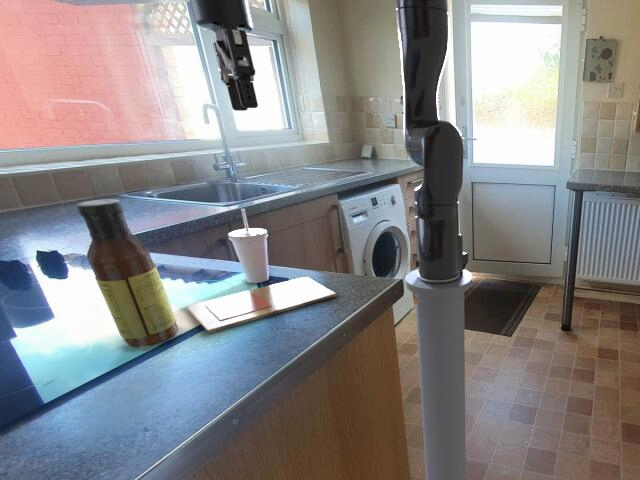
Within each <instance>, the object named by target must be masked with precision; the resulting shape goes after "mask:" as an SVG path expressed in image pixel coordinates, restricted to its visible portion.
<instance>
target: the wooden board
mask: <svg viewBox="0 0 640 480" xmlns="http://www.w3.org/2000/svg"><path fill="white" fill-rule="evenodd" d="M335 297H338V296H337V292H335V291H333V290H331V289H329V288H328V287H326V286H324V285H323V284H321V283H319V282H318V281H316V280H314V279H312V278H311V277H309V276H303V277H299V278H294V279H290V280H287V281H281V282H278V283H273V284H269V285H266V286H261V287H256V288H254V289H249V290H244V291H241V292H238V293H233V294H229V295H225V296H219V297H217V298H212V299H208V300H204V301H201V302H200V301H199V302H196V303H192V304H187V305H185V307H186V310H187V311H188V312H189V313H190V314H191V316H193V317H194V319H195V320H196V321H197V322H198V323H199V325H201V327H202V329H204V330H205V331H206V333H208V334H212V333H215V332H219V331H223V330H227V329H230V328H233V327H237V326H240V325H243V324H246V323H251V322H253V321H257V320H260V319H264V318H267V317H270V316H274V315H277V314H281V313H284V312H288V311H291V310H294V309H298V308H301V307H304V306H308V305H311V304H315V303H319V302H323V301H325V300H329V299H332V298H335Z"/></svg>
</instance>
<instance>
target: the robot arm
mask: <svg viewBox="0 0 640 480" xmlns="http://www.w3.org/2000/svg"><path fill="white" fill-rule="evenodd" d="M189 4H190V7H191V11H192V15H193V18H194V22H195V24H196V25H197V26H198V27H199V28H201V29H203V30H206V31H213V32H214V33H215V38H216V40H215V42H212V43H213V44H212V47H213V51H214V54H215V57H216V61H217V66H218V70H219V74H220V81H222V83H223V84H224V85H225V87H226V88H227V93H228V97H229V100H230V105H231V108H232V110H234V111H236V112H237V111H240V112H241V111H244V112H245V111H247V110H248V109H256V108H257V107H259V104H258V99H257V95H256V90H255V86H254V80H255V76H256V69H255V66H254V62H253V58H252V53H251V49H250V45H249V41H248V34H247V33H250V32H252V31H253V29H254V24H253V21H252V20H253V19H252V15H251V10H250V6H249V2H248V0H189ZM395 10H396V11H395V13H396V23H397V34H398V41H399V49H400V61H401V63H400V64H401V75H402V84H403V85H402V86H403V140H404V147H405V151H406V153H407V155H408V157H409V159H410V160H411V161H412V162H413V163H414V164H416V165H418V166H421V167H423V172H422V173H423V174H422V175H423V176H422V177H423V178H422V182H421V184H419V185H417V186H415V188H414V191H413V196H414V197H413V200H414V216H415V232H416V235H415V236H416V251H417V253H416V254H417V260H416V261H415V262H414V263H415V269H418V278H419V280H421V281H422V282H425V283H429V284H446V283H451V282H454V281H456V280H458V279H459V278H460V276H463V270H464V269H465V268H466V266H467V264H468V263H469V253H468V252H465V251H464V242H463V241H464V240H463V239H464V237H463V236H462V235H463V234H460V208H459V207H460V206H459V205H460V202H459V199H460V194H461V193H460V192H461V191H462V188H463V180H464V179H463V177H464V142H463V137H462V133H461V131H460V129H458V127H457V126H456V125H455V124H453V122H450V121H448V120H441V119H440V116H439V105H438V104H439V103H438V101H439V99H438V97H439V96H438V94H439V87H440V82H441V79H442V75H443V71H444V68H445V65H446V61H447V57H448V53H449V49H450V23H449V22H450V21H449V20H450V19H449V4H448V0H395Z"/></svg>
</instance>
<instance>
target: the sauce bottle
mask: <svg viewBox="0 0 640 480" xmlns="http://www.w3.org/2000/svg"><path fill="white" fill-rule="evenodd" d="M76 208H77V211H78V214H79V215H80V217H82V218H83V220H84V222H85V224H86V228H87V229H88V233H89V237H90V239H91V242H90V245H89V247H88V249H87V253H86V254H87V255H86V258H87V261H88V262H89V265H90V268H91V269H92V271H93V272H92V273H94V276H95V281H96V283H97V285H98V287H99V289H100V292H101V295H102V296H103V298H104V300H105V303H106V306H107V307H108V310H109V313H110V314H111V317H112V319H113V322H114V324H115V326H116V328H117V331H118V333H119V335H120V338H122V339H123V341H124V343H125V344H127V345H128V346H129V347H134V348H141V347H147V346H148V347H149V346H151V347H152V346H155V345H158V344H161V343H164V342H167V341H169V340H171V339H172V338H173V337H175V336H176V335H177V333H179V331H178V330H179V326H178V324H177V319H176V316H175V314H174V310H173V308H172V304H171V303H170V300H169V298H168V294H167V292H166V290H165V287H164V284H163V282H162V281H163V280H162V279H161V276H160V274H159V271H158V268H157V266H156V263H155V262H154V261H153V259H152V256H151V253H150V250H149V248H148V247H147V246H146V245H145V244H143V243H142V242H141V241H140V240H139V239H138V238H137V237H136V236H135V235H134V234H133V233H132V232H131V228H129V227H128V223H127V221H126V218H125V215H124V208H123V205H122V203H121V201H120V200H119V199H114V198H113V199H112V198H111V199H95V200H86V201H82V202H79V203H77V204H76Z"/></svg>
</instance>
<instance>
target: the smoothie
mask: <svg viewBox="0 0 640 480" xmlns="http://www.w3.org/2000/svg"><path fill="white" fill-rule="evenodd" d="M240 210H241V215H242V216H241V217H242V220H243V225H244V228H241V229H235V230H233V231H230V232H229V233H228V234H227V235H228V240H229V241H231V243H232V245H233V248H234V249H233V250H235V254H236V257H237V258H238V261H239V263H240V267H241V268H242V271H243V274H244V277H245V279H246V281H247V283H249V284H261V283H264V282H266V281H269V279H270V276H269V275H270V274H269V258H268V239H267V238H268V237H269V234H268V230H267V229H264V228H259V227H251V228H250V227H249V223H248V217H247V214H246V209H245V208H240Z"/></svg>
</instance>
